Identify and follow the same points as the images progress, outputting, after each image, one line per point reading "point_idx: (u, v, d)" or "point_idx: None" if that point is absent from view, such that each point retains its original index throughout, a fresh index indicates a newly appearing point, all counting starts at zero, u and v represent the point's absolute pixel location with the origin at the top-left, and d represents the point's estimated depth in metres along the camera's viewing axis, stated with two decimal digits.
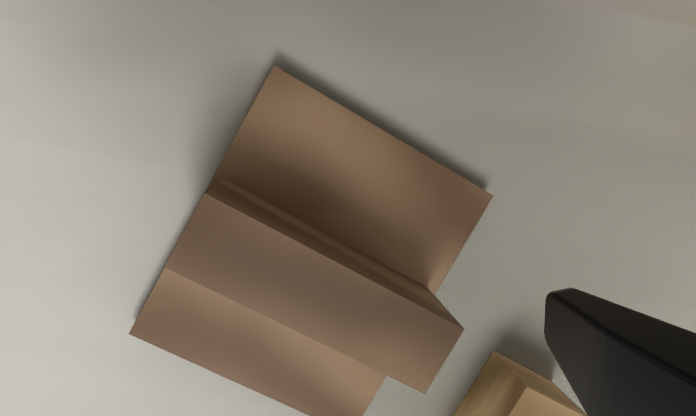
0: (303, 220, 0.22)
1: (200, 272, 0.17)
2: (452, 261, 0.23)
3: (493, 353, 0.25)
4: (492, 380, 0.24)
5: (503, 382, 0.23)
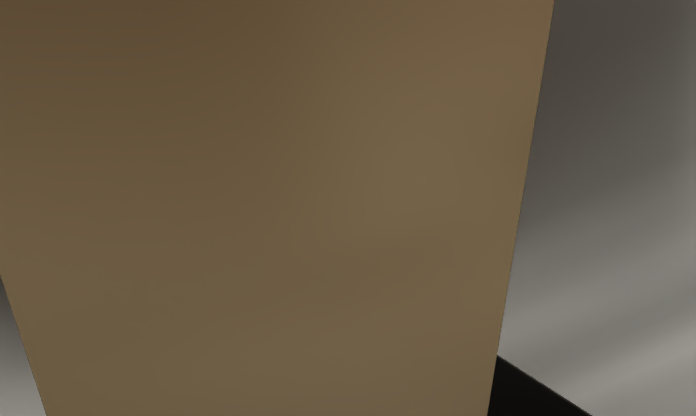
0: None
1: None
2: None
3: None
4: None
5: None
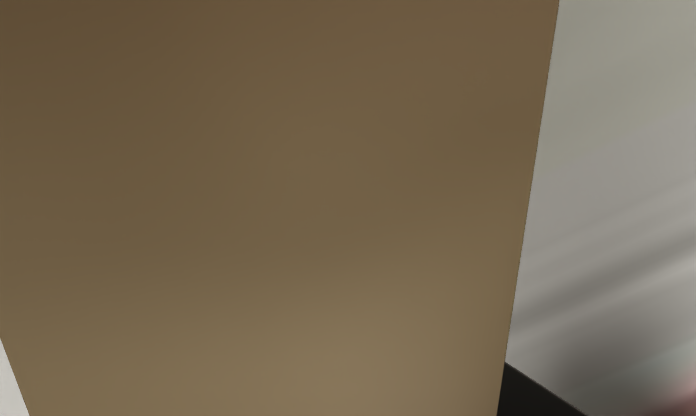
0: None
1: None
2: None
3: None
4: None
5: None
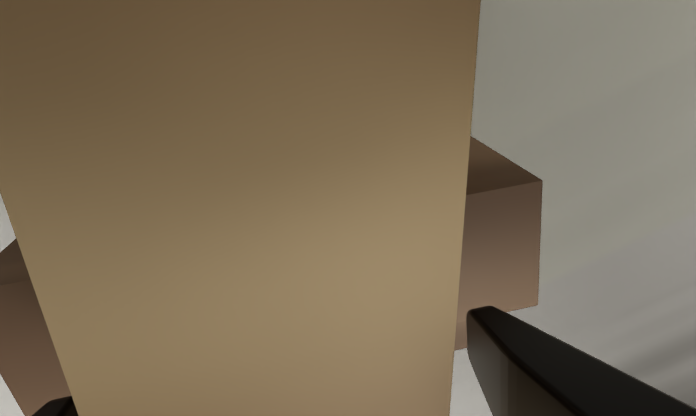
0: None
1: None
2: None
3: None
4: None
5: None
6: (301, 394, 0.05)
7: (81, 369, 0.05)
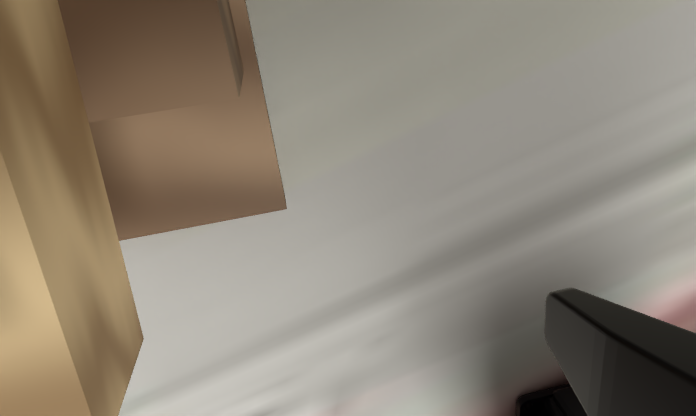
0: None
1: None
2: None
3: None
4: None
5: None
6: None
7: None
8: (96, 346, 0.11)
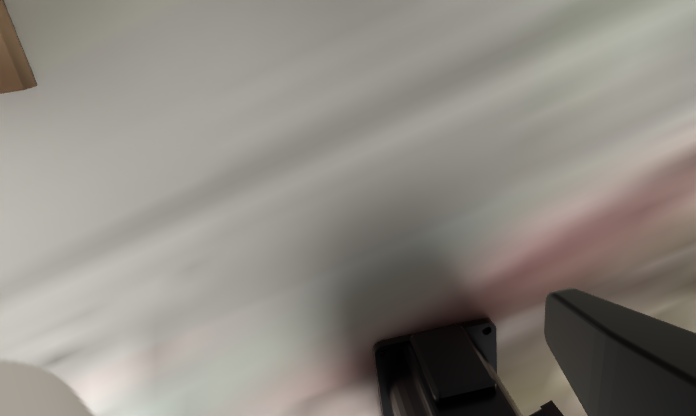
0: None
1: None
2: None
3: None
4: None
5: None
6: None
7: None
8: None
